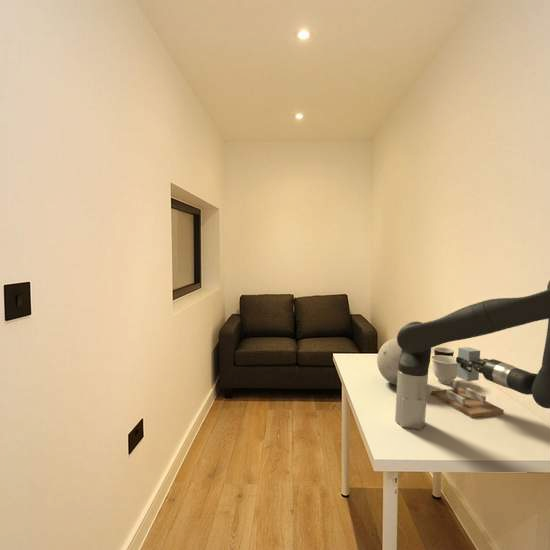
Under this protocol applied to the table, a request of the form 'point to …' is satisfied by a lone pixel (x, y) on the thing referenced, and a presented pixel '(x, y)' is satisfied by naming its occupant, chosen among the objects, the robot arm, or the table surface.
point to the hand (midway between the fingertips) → (463, 359)
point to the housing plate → (467, 401)
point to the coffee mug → (443, 351)
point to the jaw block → (468, 355)
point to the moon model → (389, 360)
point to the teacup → (444, 368)
